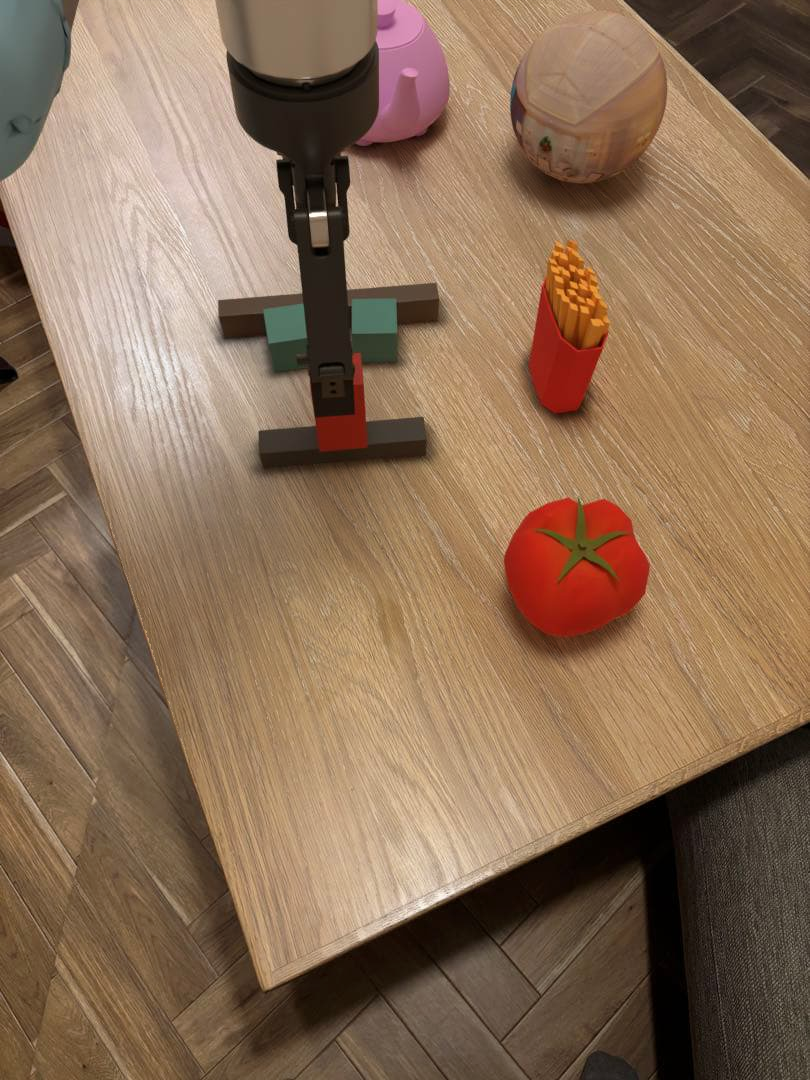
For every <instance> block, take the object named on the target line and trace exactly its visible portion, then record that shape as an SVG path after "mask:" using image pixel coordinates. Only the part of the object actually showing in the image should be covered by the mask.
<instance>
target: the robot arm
mask: <svg viewBox="0 0 810 1080" xmlns="http://www.w3.org/2000/svg"><path fill="white" fill-rule="evenodd" d="M214 1H215V7H216V14H217V19H218V26H219V30H220V36H221V41H222V42H223V45H224V47H225V49H226V55H225V57H226V64H227V65H226V66H227V70H228V71H227V72H228V76H229V80H230V81H229V82H230V87H231V94H232V99H233V100H232V101H233V105H234V111H235V116H236V118H237V121H238V123H239V125H240V127H241V128H242V129H243V131H244V132H245V133H246V135H248V136H249V137H250V139H252V141H254V142H256V143H257V144H259V145H260V146H262V147H264V148H266V149H267V150H269V151H273V152H275V153H276V155H277V156H280V157H281V158H280V159H275V166H276V174H277V175H276V176H277V185H278V189H279V191H280V192H281V194H282V195H283V197H284V207H285V216H286V217H285V218H286V225H287V236H288V239H289V241H290V242H291V243H293V244H294V245H296V246H297V247H296V249H297V256H298V265H299V266H298V267H299V277H300V285H301V293H302V295H303V305H304V314H305V324H306V334H307V343H308V345H306V347H307V351H306V352H307V353H300V354H297V365H298V366H301V365H308V366H309V367H307V375H308V377H309V376H310V379H309V384H310V383H311V391H312V397H311V400H312V399H313V404H312V408H313V407H314V411H313V416H314V415H315V418H319V417H331V416H344V415H355V402H354V382H353V377H354V373H355V364H353V362H352V356H353V346H352V337H351V328H350V325H349V311H348V297H347V290H348V283H347V272H346V258H345V241H347V239H348V238H349V237H350V230H351V229H350V218H349V207H348V190H349V188H350V187H351V171H350V170H351V169H350V160H349V159H350V158H349V155H342V153H344V152H346V150H347V149H348V148H349V147H351V146H353V145H355V144H356V142H357V141H359V140H360V139H361V138H362V137H363V136H365V135H366V134H367V132H368V131H369V130H370V129H371V127H372V126H373V124H374V122H375V120H376V118H377V115H378V110H379V49H378V45H377V42H376V37H377V33H378V2H377V0H214ZM79 2H80V0H0V183H1V182H2V181H4V180H6V179H7V178H9V177H11V176H12V175H13V174H14V173H16V172H17V171H18V170H19V169H20V168H21V167H22V166H24V164H25V163H26V162H27V160H28V158H29V157H30V156H31V155H32V153H33V152H34V150H35V147H36V145H37V143H38V141H39V138H40V136H41V134H42V132H43V129H44V127H45V124H46V121H47V119H48V116H49V114H50V111H51V108H52V105H53V103H54V100H55V98H57V95H58V94H59V93H60V91H61V88H62V83H63V79H64V75H65V72H66V71H67V70H68V68H69V67H70V62H71V56H72V31H73V27H74V22H75V18H76V15H77V10H78V6H79ZM311 391H310V392H311ZM315 418H314V419H315Z"/></svg>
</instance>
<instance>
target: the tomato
mask: <svg viewBox="0 0 810 1080" xmlns="http://www.w3.org/2000/svg"><path fill="white" fill-rule="evenodd" d="M503 564H504V570H505V575H506V580H507V581H506V582H507V585H508V590H509V592H510V594H511V595H512V598H513V599H514V602H515V604H516V606H517V608H518V610H519V611H520V612H521V614H523V616H524V617H525V619H526V620H527V621H528V622H529V623H530V624H531V625H532V626H534V628H536V629H538V630H540V631H541V632H542V633H544V634H545V635H547V636H552V637H557V638H568V637H574V636H580V635H584V634H587V633H591V632H593V631H596V630H600V629H601V628H603V627H604V626H606V625H607V624H609V623H610V622H611V621H613V620H616V619H617V618H620V617H622V616H625V615H626V614H628V613H629V614H630V612H631V611H632V610H633V609H634V608H635V606H637V604H638V603H639V602H640V601H641V599H643V597H644V596H645V594H646V591H647V590H646V589H647V585H648V579H649V574H650V567H651V565H650V562H649V560H648V558H647V555H646V554H645V552H644V551H643V549H642V547H641V546H640V544H639V542H638V541H637V538H636V536H635V532H634V526H633V521H632V519H631V518H630V517H629V516H628V515H627V514H626V512H624V510H623V509H622V508H621V507H620V506H619V505H617V504H615V503H613V502H611V501H610V500H608V499H605V498H601V499H598V500H594V501H591V502H587V503H584V504H582V501H581V499H580V497H579V496H577V501H576V500H575V499H572V498H570V497H564V498H561V499H556V500H554V501H549V502H547V503H545V504H543V505H541V506H539V507H538V508H535V509H534V510H532V511H530V512H528V513H527V515H525V517H524V518H523V520H522V521H521V523H520V524H519V525H518V527H517V528H516V530H515V531H514V533H513V534H512V537H511V539H510V541H509V544H508V545H507V548H506V550H505V553H504V556H503Z"/></svg>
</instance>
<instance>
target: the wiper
mask: <svg viewBox="0 0 810 1080" xmlns="http://www.w3.org/2000/svg"><path fill="white" fill-rule="evenodd" d="M352 362H353V364H355V373H354V377H353V382H354V402H355V415H344V416H331V417H319V418H315V415H314V414H313V416H314V423H315V425H308V426H297V427H284V428H283V427H282V428H273V429H272V428H271V429H262V430H261V429H260V430H258V433H257V435H258V454H259V458H260V462H261V466H262V469H264V470H268V469H279V468H280V469H281V468H290V467H303V466H313V465H315V466H316V465H325V464H335V463H337V464H338V463H348V462H359V461H360V462H361V461H372V460H380V459H381V460H383V459H384V460H385V459H394V458H395V459H396V458H406V457H407V458H408V457H419V456H426V455H427V442H428V440H427V433H426V432H427V431H426V424H425V418H424V416H415V417H404V418H391V419H381V420H368V421H367V415H366V414H367V413H366V397H365V382H364V373H363V371H364V370H363V363H362V361H361V353H353V356H352ZM308 377H309V378H308V379H309V380H310V376H308ZM309 389H310V390H309V391H310V397H311V404H312V405H313V399H312V391H311V383H310V382H309ZM312 410H313V412H314V407H313V406H312Z"/></svg>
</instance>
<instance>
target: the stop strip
mask: <svg viewBox="0 0 810 1080" xmlns="http://www.w3.org/2000/svg"><path fill="white" fill-rule="evenodd" d="M439 295H440V294H439V290H438V283H437V282H428V283H414V284H402V285H391V286H390V285H389V286H388V285H387V286H377V287H366V288H364V287H363V288H351V289H347V297H348V311H349V325H350V329H352V299H390V298H396V302H397V325H407V324H420V323H430V322H431V323H432V322H439V312H440V311H439V309H440V296H439ZM297 304H303V295H302V292H301V293H289V294H288V293H287V294H278V295H266V296H265V295H264V296H263V295H262V296H253V297H252V296H251V297H240V298H227V299H225V298H224V299H218V300H217V309H218V310H217V312H218V313H217V315H218V320H219V324H220V327H221V331H222V335H223V339H225V340H226V339H238V338H249V337H250V338H251V337H261V336H267V332H266V326H265V320H264V313H263V309H269V308H276V307H283V306H290V305H297Z"/></svg>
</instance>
